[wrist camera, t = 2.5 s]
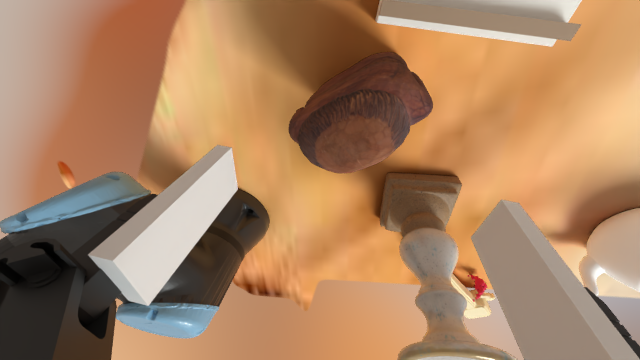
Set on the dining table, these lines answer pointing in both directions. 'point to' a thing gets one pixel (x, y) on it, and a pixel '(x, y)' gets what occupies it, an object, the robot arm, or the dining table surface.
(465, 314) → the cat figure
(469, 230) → the dining table surface
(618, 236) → the teapot
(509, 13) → the display plinth
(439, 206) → the candle holder
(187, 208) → the robot arm
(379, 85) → the wooden figurine
